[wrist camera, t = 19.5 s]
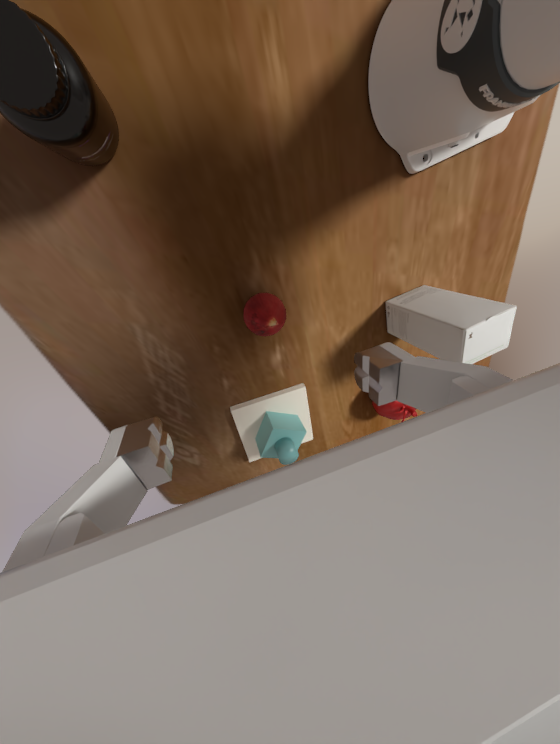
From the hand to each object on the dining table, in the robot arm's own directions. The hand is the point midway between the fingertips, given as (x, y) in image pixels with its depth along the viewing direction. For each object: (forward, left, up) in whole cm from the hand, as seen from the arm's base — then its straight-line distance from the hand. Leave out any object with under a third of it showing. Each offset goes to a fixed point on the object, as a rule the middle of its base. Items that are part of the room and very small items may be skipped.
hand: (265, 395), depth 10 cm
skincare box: (-31, +13, -29) cm, 45 cm away
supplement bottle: (+8, -16, -29) cm, 34 cm away
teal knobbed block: (-3, +29, -28) cm, 40 cm away
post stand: (-3, +29, -29) cm, 41 cm away
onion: (-5, +6, -29) cm, 30 cm away
